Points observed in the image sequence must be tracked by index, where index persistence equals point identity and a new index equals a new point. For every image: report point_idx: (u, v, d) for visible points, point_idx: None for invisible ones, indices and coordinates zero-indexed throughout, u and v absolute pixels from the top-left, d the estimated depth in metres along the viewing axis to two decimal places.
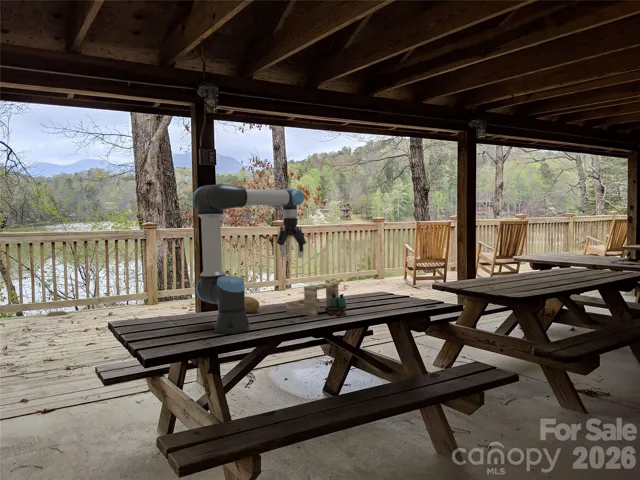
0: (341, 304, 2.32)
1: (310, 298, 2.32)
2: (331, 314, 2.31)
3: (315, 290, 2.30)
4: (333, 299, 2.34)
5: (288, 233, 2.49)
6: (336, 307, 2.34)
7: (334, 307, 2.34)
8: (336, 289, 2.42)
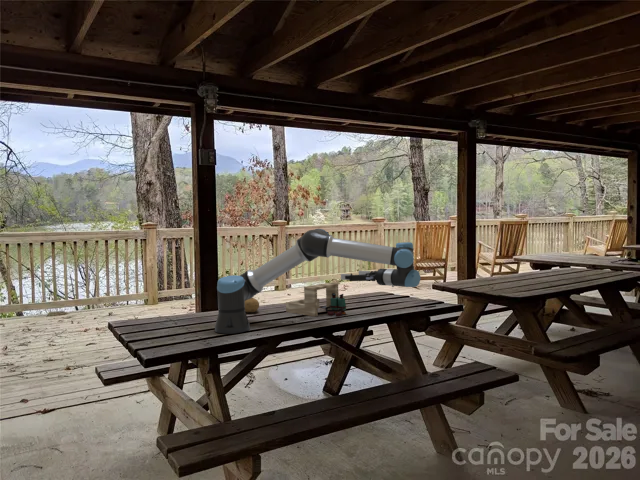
0: (341, 304, 2.32)
1: (310, 298, 2.32)
2: (331, 314, 2.31)
3: (315, 290, 2.30)
4: (333, 299, 2.34)
5: None
6: (336, 307, 2.34)
7: (334, 307, 2.34)
8: (336, 289, 2.42)
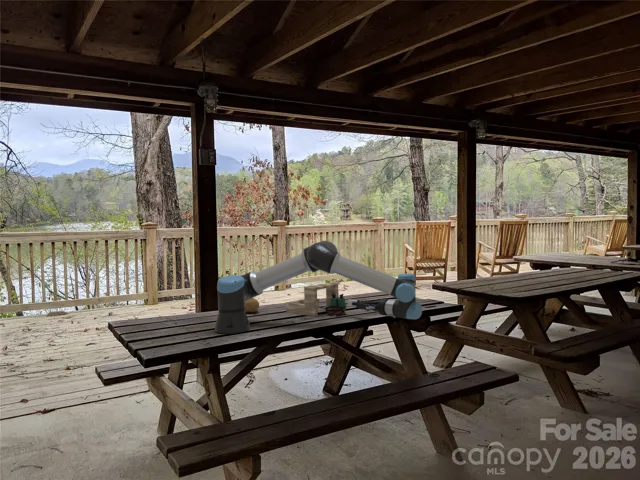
0: (341, 304, 2.32)
1: (310, 298, 2.32)
2: (331, 314, 2.31)
3: (315, 290, 2.30)
4: (333, 299, 2.34)
5: None
6: (336, 307, 2.34)
7: (334, 307, 2.34)
8: (336, 289, 2.42)
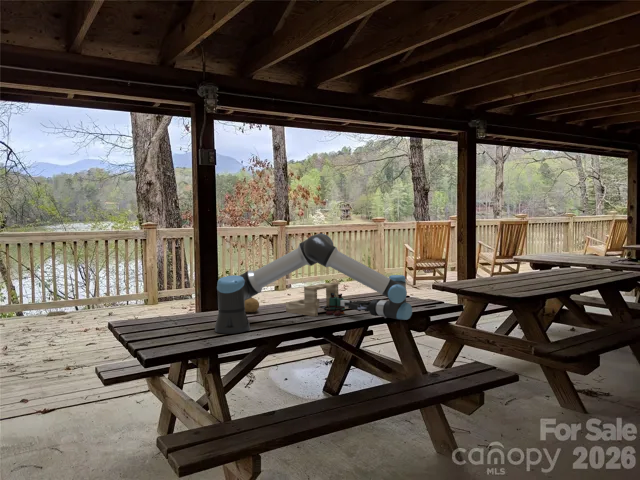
0: (340, 304, 2.32)
1: (310, 298, 2.32)
2: (330, 314, 2.32)
3: (315, 290, 2.30)
4: (332, 299, 2.35)
5: None
6: (335, 307, 2.35)
7: (333, 307, 2.35)
8: (336, 289, 2.42)
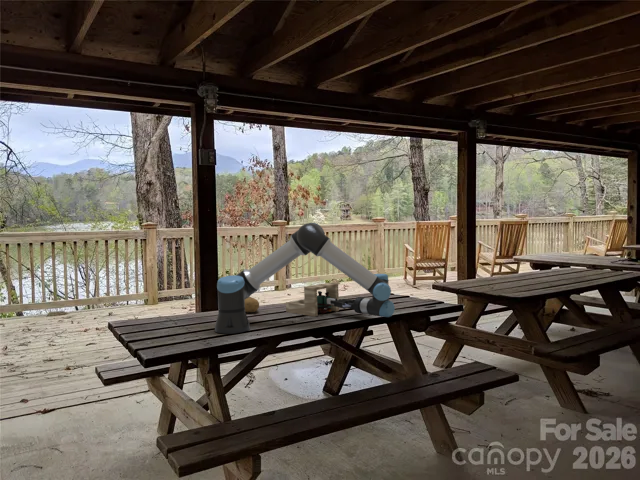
0: (326, 302, 2.39)
1: (310, 298, 2.32)
2: None
3: (315, 290, 2.30)
4: (319, 297, 2.42)
5: None
6: (322, 305, 2.41)
7: (320, 305, 2.42)
8: (336, 289, 2.42)
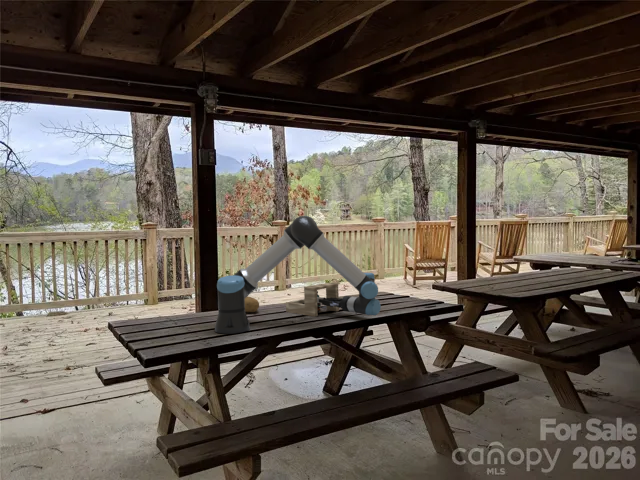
0: None
1: (310, 298, 2.32)
2: None
3: (315, 290, 2.30)
4: None
5: None
6: None
7: None
8: (336, 289, 2.42)
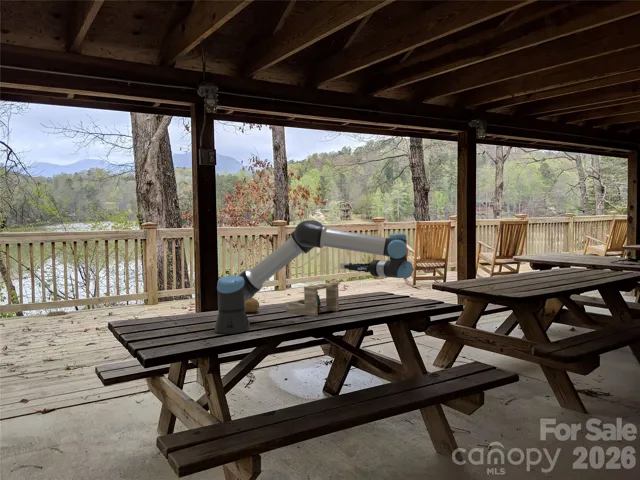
0: None
1: (310, 298, 2.32)
2: None
3: (315, 290, 2.30)
4: None
5: None
6: None
7: None
8: (336, 289, 2.42)
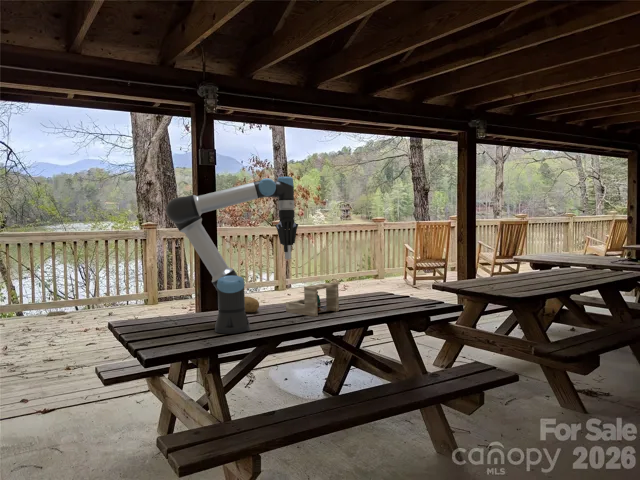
0: None
1: (310, 298, 2.32)
2: None
3: (315, 290, 2.30)
4: None
5: None
6: None
7: None
8: (336, 289, 2.42)
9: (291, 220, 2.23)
